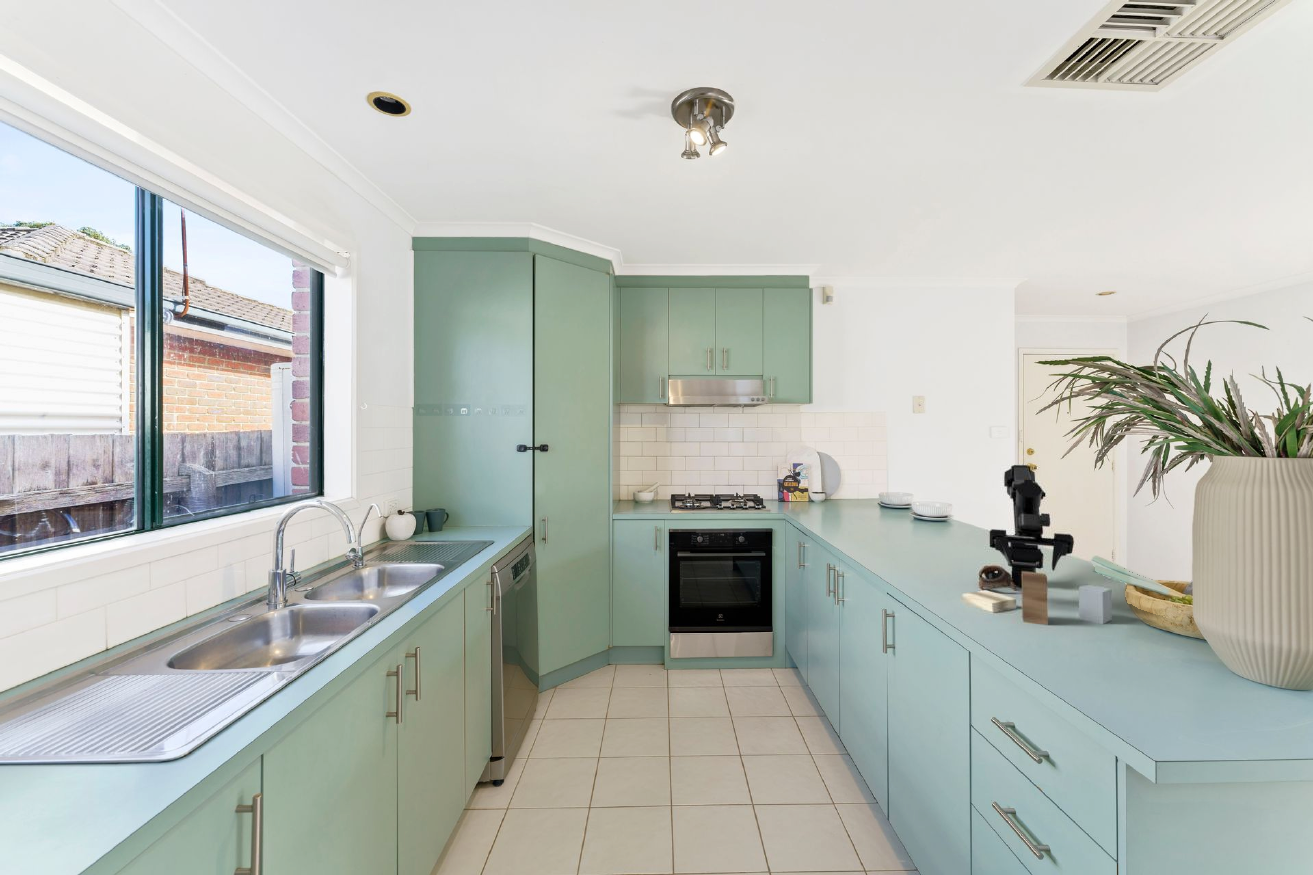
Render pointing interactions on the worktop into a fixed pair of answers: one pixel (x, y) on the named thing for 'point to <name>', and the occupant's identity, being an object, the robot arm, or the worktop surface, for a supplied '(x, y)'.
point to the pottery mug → (995, 577)
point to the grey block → (1095, 603)
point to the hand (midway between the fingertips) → (1031, 567)
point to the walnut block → (1034, 598)
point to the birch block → (989, 601)
